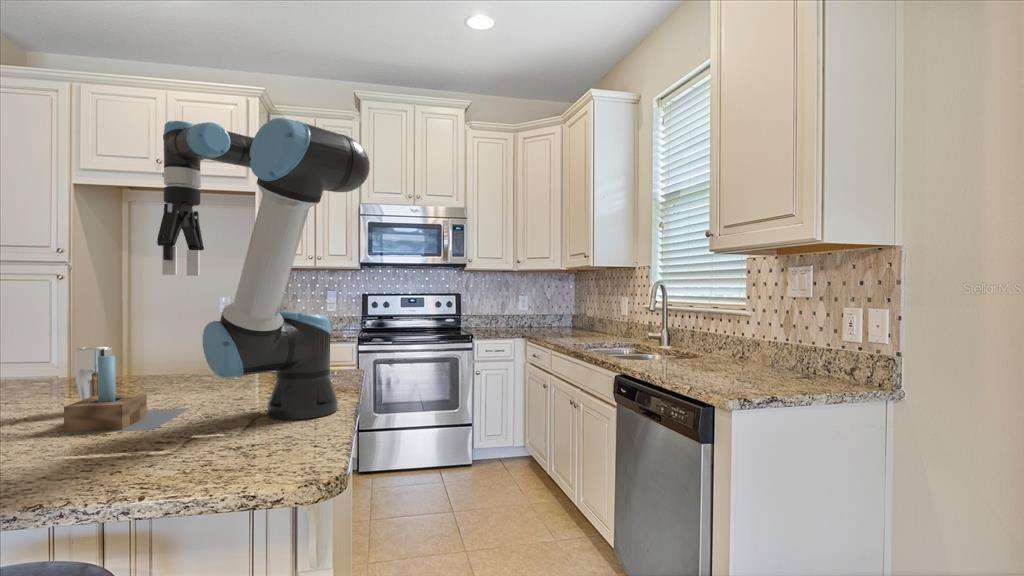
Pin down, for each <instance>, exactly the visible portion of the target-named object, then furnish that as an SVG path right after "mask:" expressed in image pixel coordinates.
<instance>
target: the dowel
mask: <svg viewBox="0 0 1024 576" xmlns="http://www.w3.org/2000/svg"><path fill="white" fill-rule="evenodd" d="M115 395H116V355H113V356H100V357H98V403H100V402H115V401H116V399H115Z"/></svg>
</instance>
